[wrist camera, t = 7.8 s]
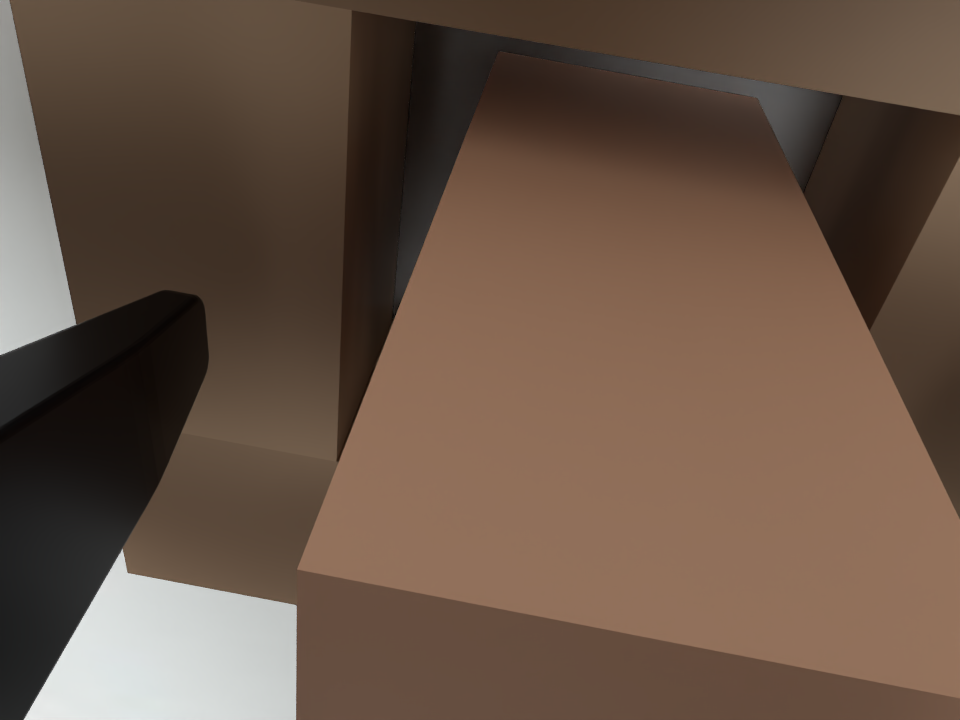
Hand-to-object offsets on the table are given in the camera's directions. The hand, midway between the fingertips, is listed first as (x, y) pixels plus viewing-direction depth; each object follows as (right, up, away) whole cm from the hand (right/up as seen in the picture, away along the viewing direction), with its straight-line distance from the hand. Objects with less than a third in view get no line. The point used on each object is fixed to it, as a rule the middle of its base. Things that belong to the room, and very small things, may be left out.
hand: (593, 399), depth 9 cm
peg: (+1, +3, +4) cm, 6 cm away
